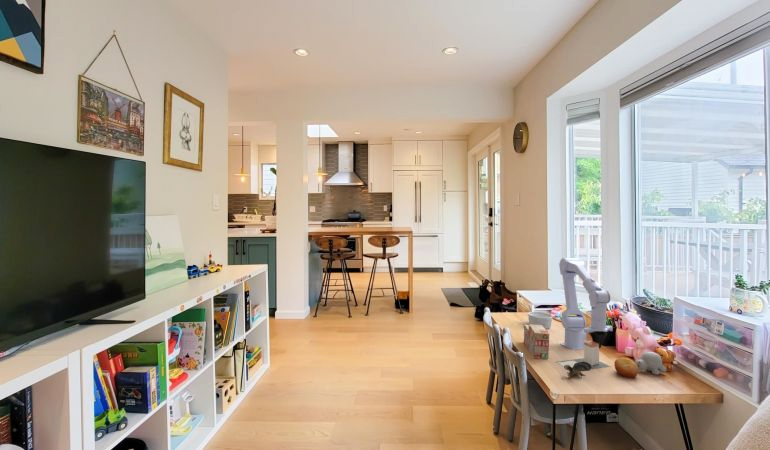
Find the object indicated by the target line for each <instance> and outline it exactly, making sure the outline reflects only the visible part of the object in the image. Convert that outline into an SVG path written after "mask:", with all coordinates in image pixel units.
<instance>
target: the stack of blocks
mask: <svg viewBox="0 0 770 450" xmlns="http://www.w3.org/2000/svg"><path fill="white" fill-rule="evenodd" d="M523 343H524V344H525V345H524V346H525V347H526V348H527V349H528V350H529V352H530V354H531V356H532V357H533V359H534V360H539V359H541V360H542V359H543V360H544V359H545V360H548V359H549V350H550V349H549V346H550V333H549V332H548V329H545V328H544V327H543V326H542V325H532V324H529V323H528V324H523Z"/></svg>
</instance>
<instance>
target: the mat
mask: <svg viewBox="0 0 770 450" xmlns="http://www.w3.org/2000/svg"><path fill="white" fill-rule="evenodd" d="M578 362H584V358H583V357H582V358H575V359H567V360H560V361H559V360H558V361H556V363H557V364H558V365H561V366H562V367H564V365H570V366H571V367H573V366H574V364H575V363H578ZM591 367H592V368H591V369H590V371H592V370H596V369H602V368H603V369H604V368H612V367H611V366H610V365H608V364H606V363H604V362H603V361H600V360H599V364H596V365H591Z"/></svg>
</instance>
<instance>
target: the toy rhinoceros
mask: <svg viewBox="0 0 770 450" xmlns="http://www.w3.org/2000/svg"><path fill="white" fill-rule="evenodd" d="M633 360H634V362H635V363H636V364H637V366H638V373H639V374H640V373H642V371H644V370H646V371H648V372H651V374H652V375H656V376H658V375H660V373H666V372H667V368H666V366H665V365H664V364H663V359H662V358H661V356H660V355H659V354H658V353H656V352H654V351H644V352H643V353H642V354H641V355H640V359H638V358H637V359H636V358H635V357H633ZM638 373H637V374H638Z"/></svg>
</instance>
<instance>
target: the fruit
mask: <svg viewBox="0 0 770 450" xmlns="http://www.w3.org/2000/svg"><path fill="white" fill-rule="evenodd" d="M614 369H615V371H616V373H618V375H619V376H621V377H624V378H636V377H637V376H638V366H637V364H636V363H635V360H633V359H631V358H629V357H619V358H617V359H616V360H615V361H614Z"/></svg>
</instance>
